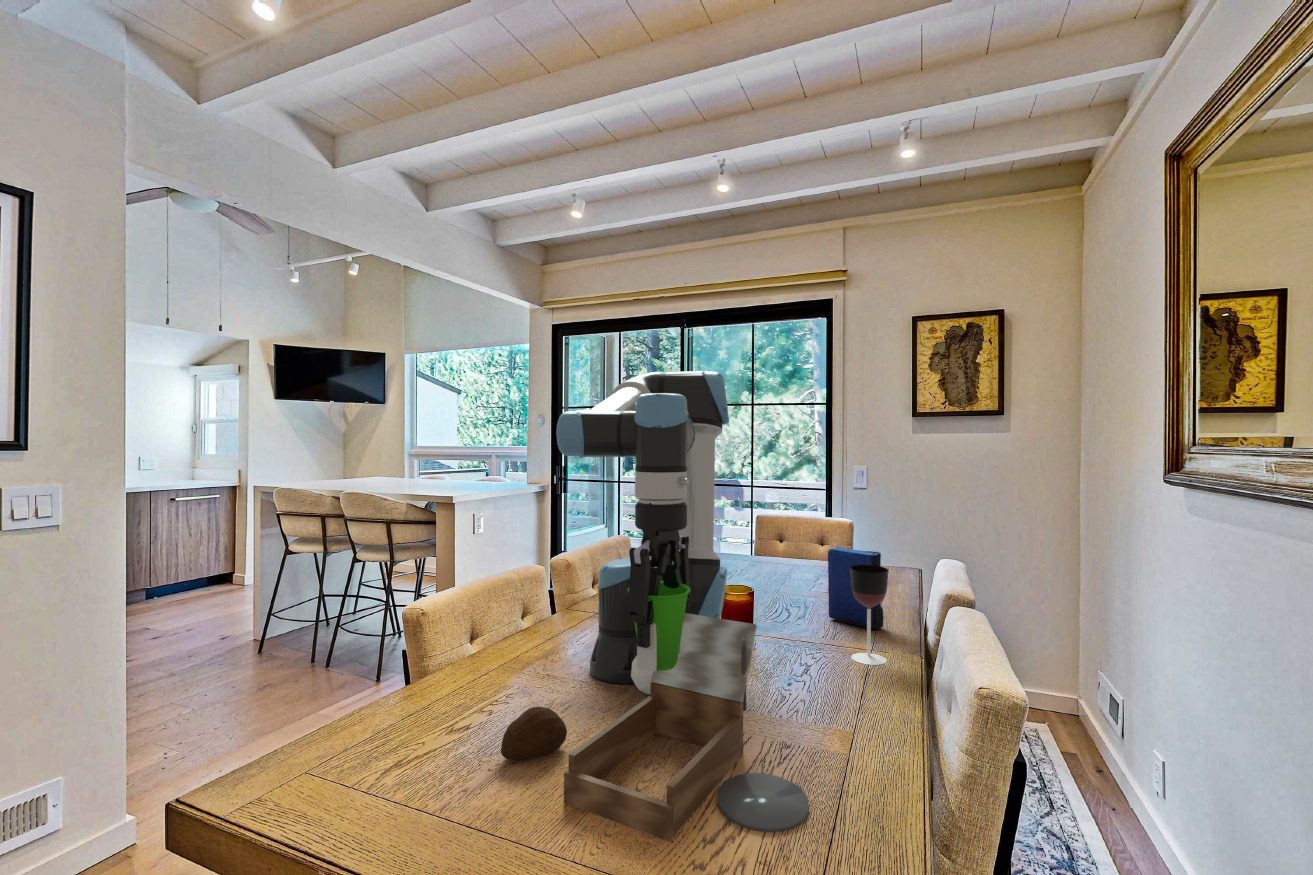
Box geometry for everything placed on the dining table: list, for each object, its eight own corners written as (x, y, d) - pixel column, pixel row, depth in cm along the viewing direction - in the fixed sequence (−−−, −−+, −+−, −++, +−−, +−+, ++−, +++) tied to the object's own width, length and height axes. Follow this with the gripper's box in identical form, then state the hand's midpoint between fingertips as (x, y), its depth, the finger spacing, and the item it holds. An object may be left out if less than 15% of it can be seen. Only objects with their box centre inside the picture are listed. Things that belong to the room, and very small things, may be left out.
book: (885, 628, 158) (886, 551, 158) (875, 632, 155) (875, 553, 155) (836, 616, 169) (836, 544, 169) (825, 620, 165) (826, 546, 166)
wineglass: (848, 662, 134) (848, 570, 134) (851, 650, 142) (851, 563, 142) (887, 667, 131) (887, 574, 131) (888, 654, 139) (888, 566, 139)
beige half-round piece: (615, 683, 117) (659, 711, 108) (630, 636, 118) (674, 660, 110) (645, 685, 123) (689, 711, 114) (659, 640, 124) (703, 663, 116)
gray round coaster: (702, 813, 79) (702, 807, 79) (736, 770, 90) (737, 764, 90) (792, 843, 73) (792, 836, 73) (819, 793, 84) (819, 787, 84)
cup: (685, 679, 82) (685, 597, 82) (620, 673, 84) (620, 593, 84) (694, 655, 91) (694, 582, 91) (635, 651, 93) (635, 579, 93)
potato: (492, 754, 94) (492, 709, 94) (553, 735, 100) (553, 692, 100) (511, 774, 88) (511, 726, 88) (574, 752, 95) (574, 707, 95)
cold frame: (563, 802, 81) (564, 662, 82) (669, 715, 107) (670, 609, 108) (669, 841, 74) (670, 686, 74) (756, 737, 100) (756, 623, 100)
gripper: (648, 509, 78) (648, 690, 78) (713, 496, 95) (713, 643, 95) (599, 506, 81) (599, 678, 81) (671, 494, 99) (670, 635, 99)
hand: (660, 659), depth 88 cm, fingers closed on cup, 7 cm apart
